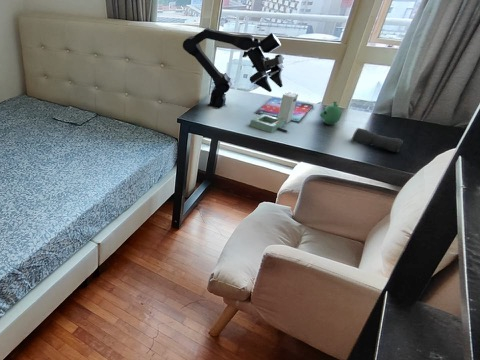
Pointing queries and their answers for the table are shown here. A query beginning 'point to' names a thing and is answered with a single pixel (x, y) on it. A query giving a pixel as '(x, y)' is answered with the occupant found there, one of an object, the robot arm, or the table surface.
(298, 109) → the tablet
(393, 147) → the flashlight
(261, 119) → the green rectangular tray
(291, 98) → the block
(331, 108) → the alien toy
